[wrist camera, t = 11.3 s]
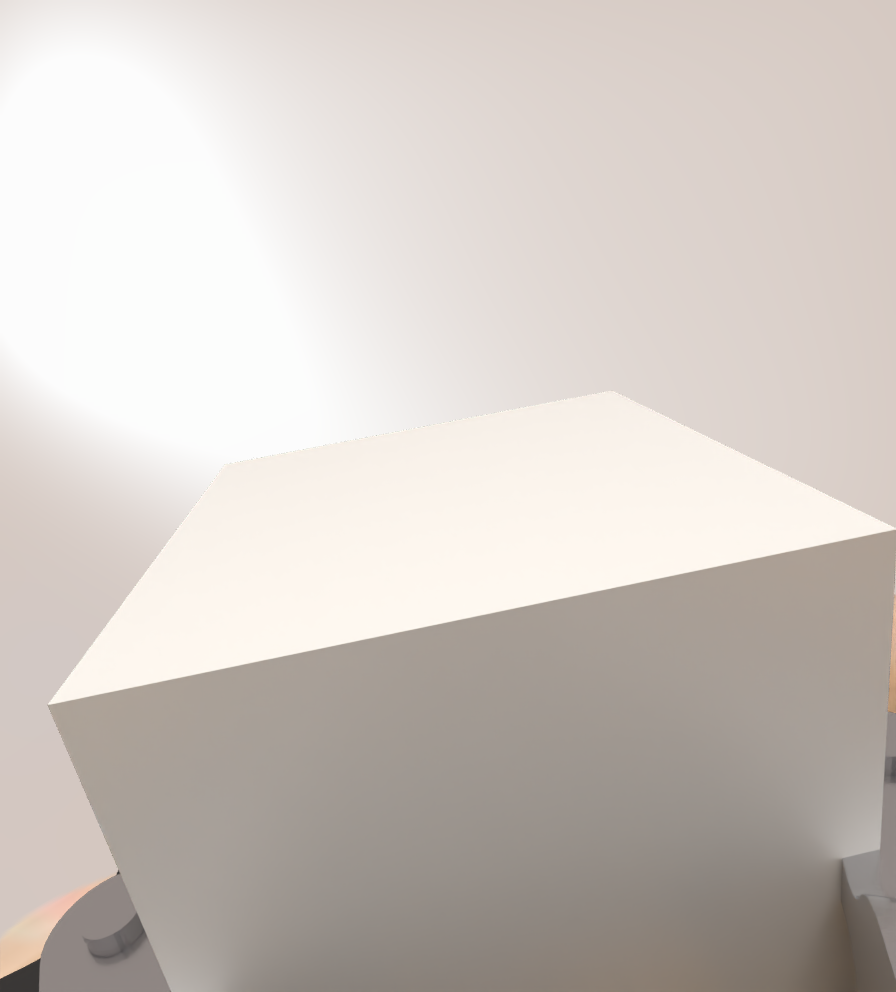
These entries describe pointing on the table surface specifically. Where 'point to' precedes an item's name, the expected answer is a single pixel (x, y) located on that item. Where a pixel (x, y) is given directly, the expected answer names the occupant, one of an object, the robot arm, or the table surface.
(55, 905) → the table surface
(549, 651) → the block
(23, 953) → the table surface
